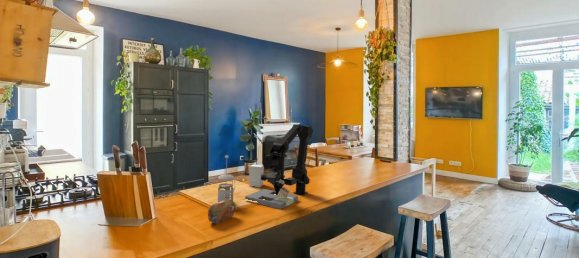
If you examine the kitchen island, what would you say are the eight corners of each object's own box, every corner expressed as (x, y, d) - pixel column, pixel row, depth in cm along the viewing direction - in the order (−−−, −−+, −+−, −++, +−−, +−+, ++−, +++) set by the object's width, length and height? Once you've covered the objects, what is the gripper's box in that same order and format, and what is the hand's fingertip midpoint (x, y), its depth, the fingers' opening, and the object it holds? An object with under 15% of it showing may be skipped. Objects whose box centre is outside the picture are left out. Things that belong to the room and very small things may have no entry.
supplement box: (260, 187, 200) (260, 167, 199) (248, 186, 201) (249, 166, 200) (263, 184, 207) (264, 164, 206) (252, 183, 209) (253, 163, 208)
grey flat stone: (211, 226, 137) (212, 206, 137) (206, 224, 139) (206, 205, 138) (235, 216, 150) (236, 198, 149) (230, 214, 152) (230, 197, 151)
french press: (211, 204, 164) (212, 155, 162) (226, 198, 175) (227, 152, 172) (226, 208, 160) (228, 157, 158) (241, 202, 170) (242, 154, 168)
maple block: (281, 192, 175) (284, 186, 174) (286, 197, 174) (290, 191, 173) (277, 194, 172) (280, 188, 171) (283, 199, 170) (286, 193, 169)
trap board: (263, 193, 188) (264, 188, 188) (297, 200, 178) (298, 195, 178) (245, 200, 173) (245, 196, 173) (281, 209, 162) (281, 204, 162)
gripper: (255, 166, 169) (254, 195, 171) (286, 171, 160) (285, 202, 162) (267, 162, 179) (265, 190, 181) (297, 167, 170) (295, 197, 172)
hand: (277, 195), depth 173 cm, fingers closed
